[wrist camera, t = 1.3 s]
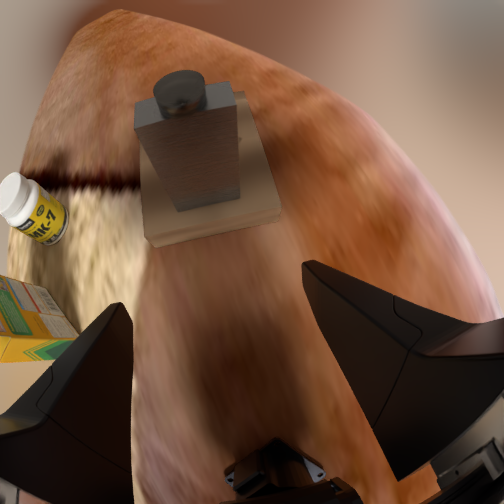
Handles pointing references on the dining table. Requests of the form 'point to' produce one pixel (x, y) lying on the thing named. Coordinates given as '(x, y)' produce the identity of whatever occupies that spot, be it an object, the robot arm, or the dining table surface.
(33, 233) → the supplement bottle
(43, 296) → the crayon box
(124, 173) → the dining table surface
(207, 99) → the grey piece
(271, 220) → the board
